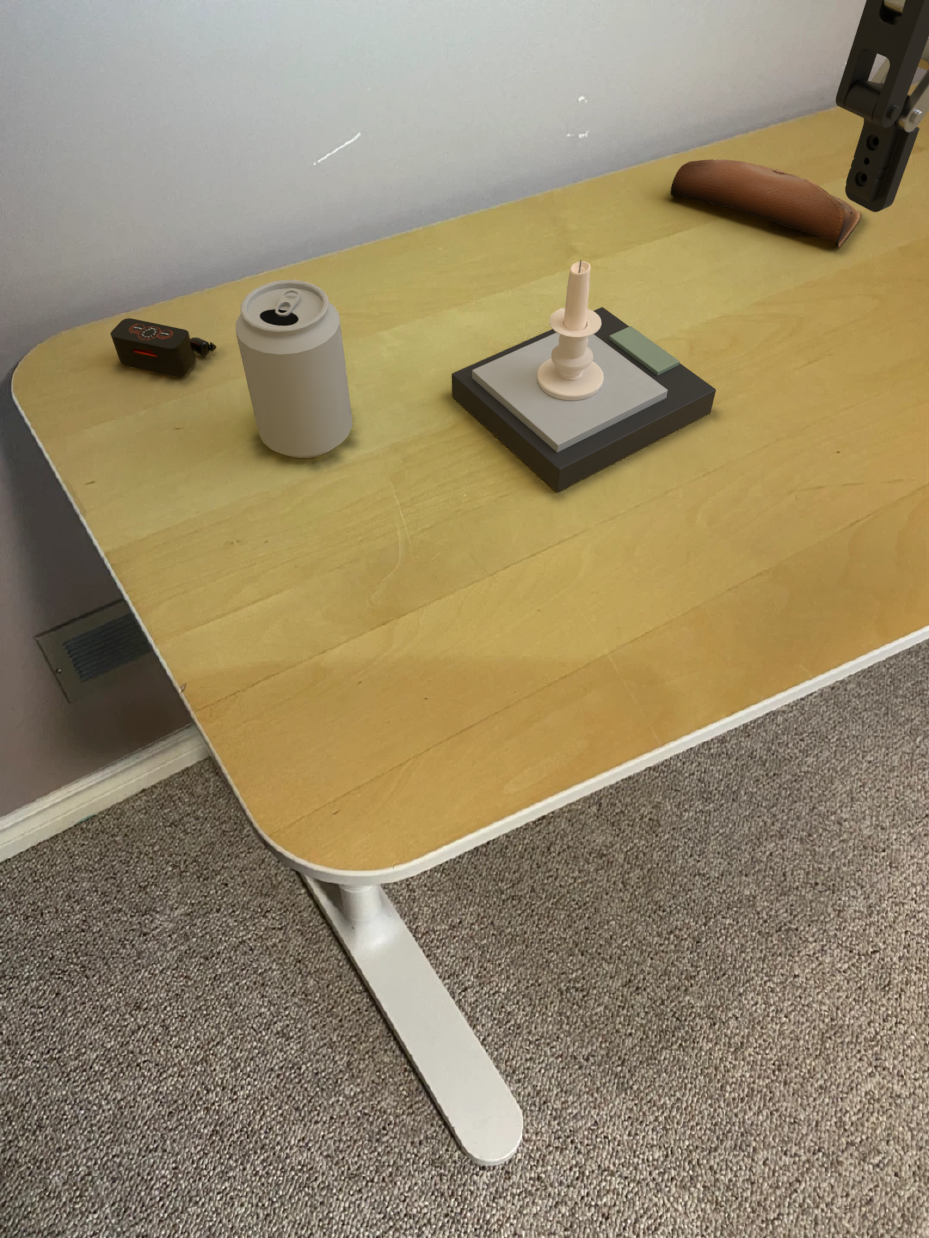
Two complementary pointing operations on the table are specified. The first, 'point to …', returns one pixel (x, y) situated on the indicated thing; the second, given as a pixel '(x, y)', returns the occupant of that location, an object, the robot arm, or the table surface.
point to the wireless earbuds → (157, 347)
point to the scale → (583, 402)
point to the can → (295, 368)
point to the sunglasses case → (767, 196)
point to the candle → (573, 343)
